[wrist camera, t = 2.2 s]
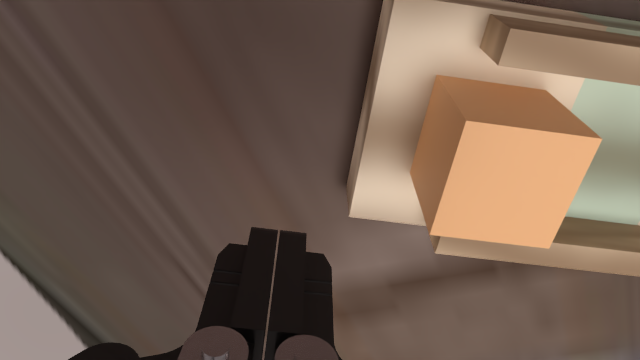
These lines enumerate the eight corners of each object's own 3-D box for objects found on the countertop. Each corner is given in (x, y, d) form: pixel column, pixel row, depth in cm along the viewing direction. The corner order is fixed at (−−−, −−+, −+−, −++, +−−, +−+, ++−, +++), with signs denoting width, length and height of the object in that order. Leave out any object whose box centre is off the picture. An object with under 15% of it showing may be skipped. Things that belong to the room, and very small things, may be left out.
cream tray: (386, -18, 22) (407, 9, 17) (850, 53, 24) (999, 98, 18) (346, 186, 27) (352, 254, 22) (724, 232, 29) (811, 305, 24)
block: (436, 74, 21) (466, 120, 17) (545, 90, 21) (602, 138, 17) (409, 172, 24) (429, 234, 19) (508, 185, 24) (549, 248, 20)
